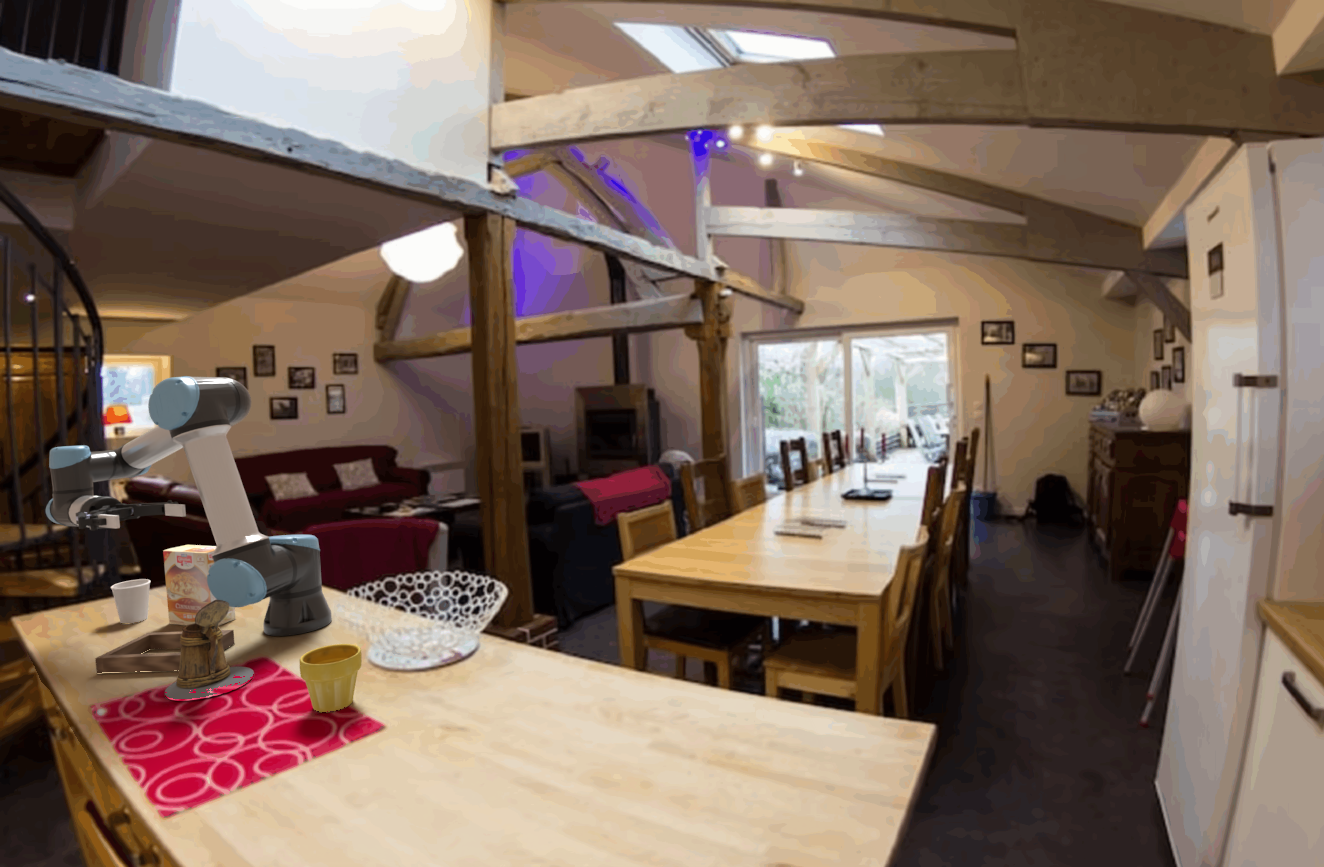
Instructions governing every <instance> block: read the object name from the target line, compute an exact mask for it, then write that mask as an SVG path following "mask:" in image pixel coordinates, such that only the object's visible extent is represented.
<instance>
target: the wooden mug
mask: <svg viewBox="0 0 1324 867" xmlns="http://www.w3.org/2000/svg"><path fill="white" fill-rule="evenodd" d="M228 611H229V603H228V602H226V601H223V600H214V601H212V602H211V603H209V604H207V605H206V606H204V607H203V608H202V609H201V610H199V612H198V613H197V614H196V617H195V623H194V624H190V625H184V627H182V631H181V632H182V635H181V638H180V643H181V649H180V653H181V655H180V665H179V671H178V675H177V677H176V681H177V683H176V685H177V687H179V688H187V689H190V688H199V687H204V686H208V685H211V684H214V683H217V682H219V681H222V680H223V679H225V678H227V677H228V676H229V675H230V668H229V667H230V664H229V663H227V659H226V654H225V650H224V649H223V645H222V640H221V638H222V637H223V634H222V632H221V630H222V629H221V628H220V625H219V626H218V624H219V623H220V622H221V621H222V620H223V619H224V618H225V617H226V615H227V613H228Z"/></svg>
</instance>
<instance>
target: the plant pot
mask: <svg viewBox="0 0 1324 867" xmlns="http://www.w3.org/2000/svg"><path fill="white" fill-rule="evenodd" d="M361 667H362V648H361V647H360V646H359V645H356V644H352V643H338V644H337V643H336V644H329V645H324V646H320V647H317V648H315V649H314V648H313V649H311V650H309V651H307V652H305V653H304V654H303V655H301V656H300V658H299V673H300V678H301V679H302V680H303V681H304V682H305V685H306V688H307V692H308V694H309V698H310V701H311V706H312V708H313V710H314V711H315V710H316V711H315V712H317V711H319V712H318V713H322V712H326V713H331V712H330V711H334V712H337V711H336V710H338V711H341V710H343V709H345V708H347V707H348V706H350V705H351V704H352V703H353V702H354V695H355V690H356V682H357V677H358V676H357V675H358V672H359V670H361ZM344 707H345V708H344ZM340 709H341V710H340ZM327 711H328V712H327Z"/></svg>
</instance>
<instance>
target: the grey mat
mask: <svg viewBox="0 0 1324 867" xmlns="http://www.w3.org/2000/svg"><path fill="white" fill-rule="evenodd" d="M229 668H230V675H229V676H228V677H227V678H225V679H223V680H222V681H219V682H217V683H214V684H211V685H208V686H204V687H199V688H190V689H187V688H179V687H177V685H176V683H177V680H176V681H175V682H173V683H171V684H169V686H167V687H166V688H165V689H164V696H165V695H166V696H167V697H169V698H173V699H192V698H200V697H206V696H209V695H213V694H217V693H210V692H209V693H207V691H210V690H209V689H210V688H211V689H212V690H211V691H213V689H214V688H218V687H219V686H220V687H223V686H225V685H226V687H227V686H228V685H230V684H232V685H231V686H233V685H234V684H235V683H238V684H237V685H241V684H243V683H245V682H247V681H248V680H250V679H251V678H250V677H252V676H253V674H254V675H255V672H254V670H253V669H252V668H250V667H246V666H236V665H235V666H229ZM234 675H235V676H240V677H242V678H233V677H235V676H234ZM243 676H245V677H243ZM239 682H240V683H239ZM194 689H196V690H194ZM206 689H208V690H207V691H206ZM190 690H191V691H190ZM193 690H194V691H196V693H189V692H193ZM216 690H217V689H216ZM165 692H167V693H165ZM201 692H205V693H201Z"/></svg>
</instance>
